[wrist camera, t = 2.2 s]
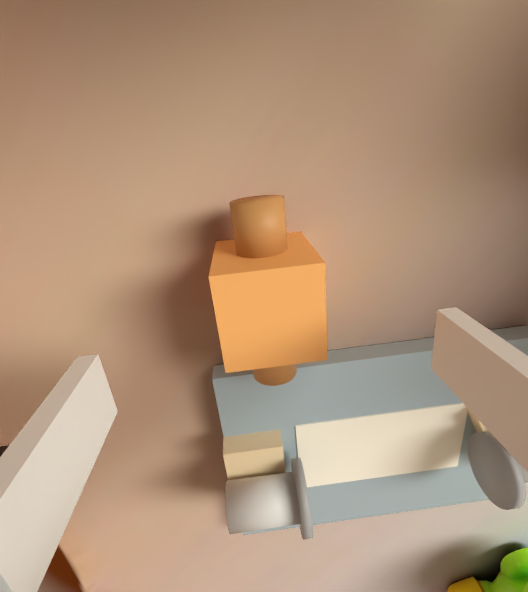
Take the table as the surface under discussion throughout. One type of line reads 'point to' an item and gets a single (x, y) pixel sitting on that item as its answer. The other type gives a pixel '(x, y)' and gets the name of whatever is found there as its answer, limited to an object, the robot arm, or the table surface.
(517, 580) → the turtle toy
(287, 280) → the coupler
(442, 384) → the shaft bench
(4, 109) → the table surface
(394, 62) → the table surface
